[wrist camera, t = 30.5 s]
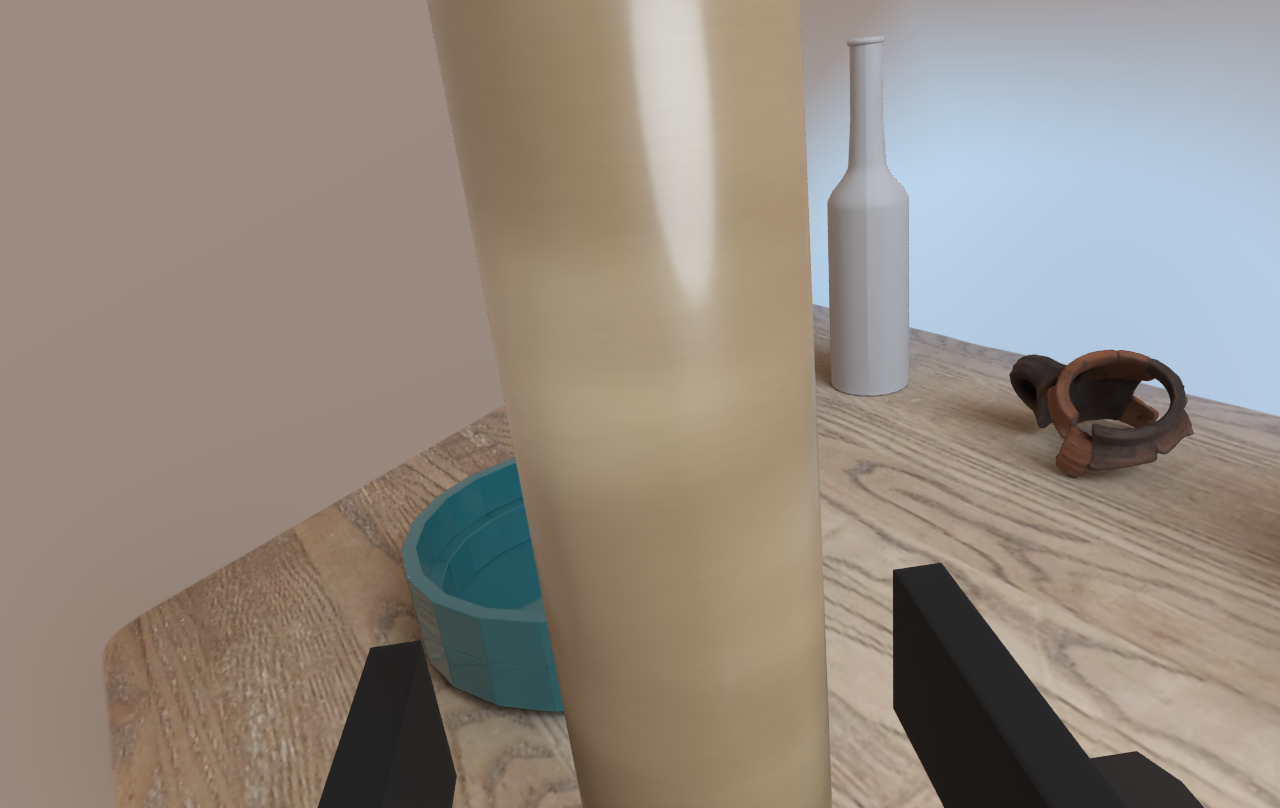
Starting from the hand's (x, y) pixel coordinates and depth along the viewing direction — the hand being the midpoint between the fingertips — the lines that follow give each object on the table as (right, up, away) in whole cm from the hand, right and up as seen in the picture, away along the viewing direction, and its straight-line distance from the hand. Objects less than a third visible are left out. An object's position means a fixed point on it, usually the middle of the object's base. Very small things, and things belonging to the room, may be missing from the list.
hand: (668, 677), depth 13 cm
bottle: (+20, +6, +61) cm, 65 cm away
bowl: (-3, -7, +35) cm, 36 cm away
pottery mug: (+31, +1, +45) cm, 55 cm away
